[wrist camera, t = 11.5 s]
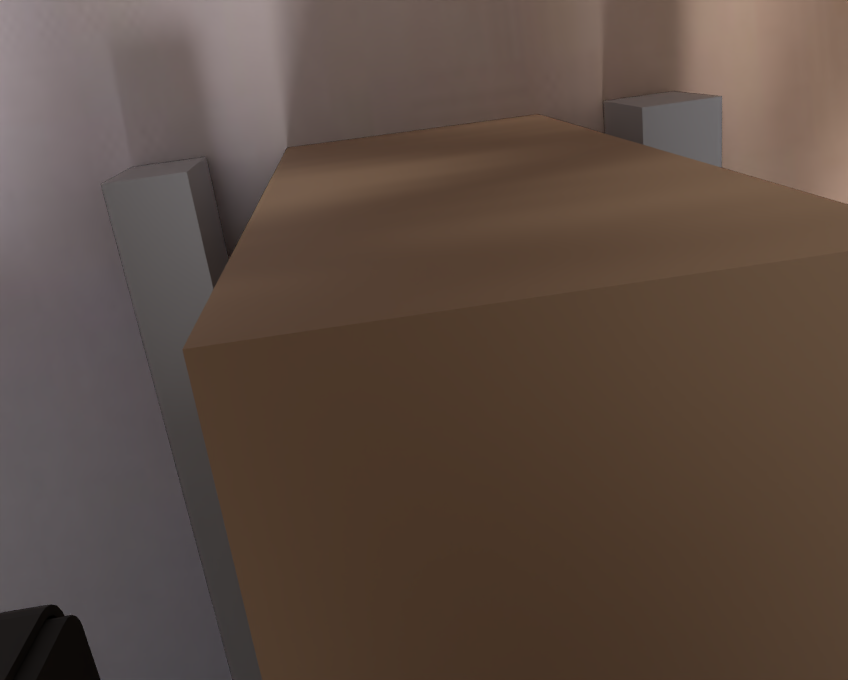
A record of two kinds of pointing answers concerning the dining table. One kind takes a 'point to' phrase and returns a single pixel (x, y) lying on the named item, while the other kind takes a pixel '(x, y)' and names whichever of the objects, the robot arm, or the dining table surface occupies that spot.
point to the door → (531, 412)
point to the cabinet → (200, 271)
